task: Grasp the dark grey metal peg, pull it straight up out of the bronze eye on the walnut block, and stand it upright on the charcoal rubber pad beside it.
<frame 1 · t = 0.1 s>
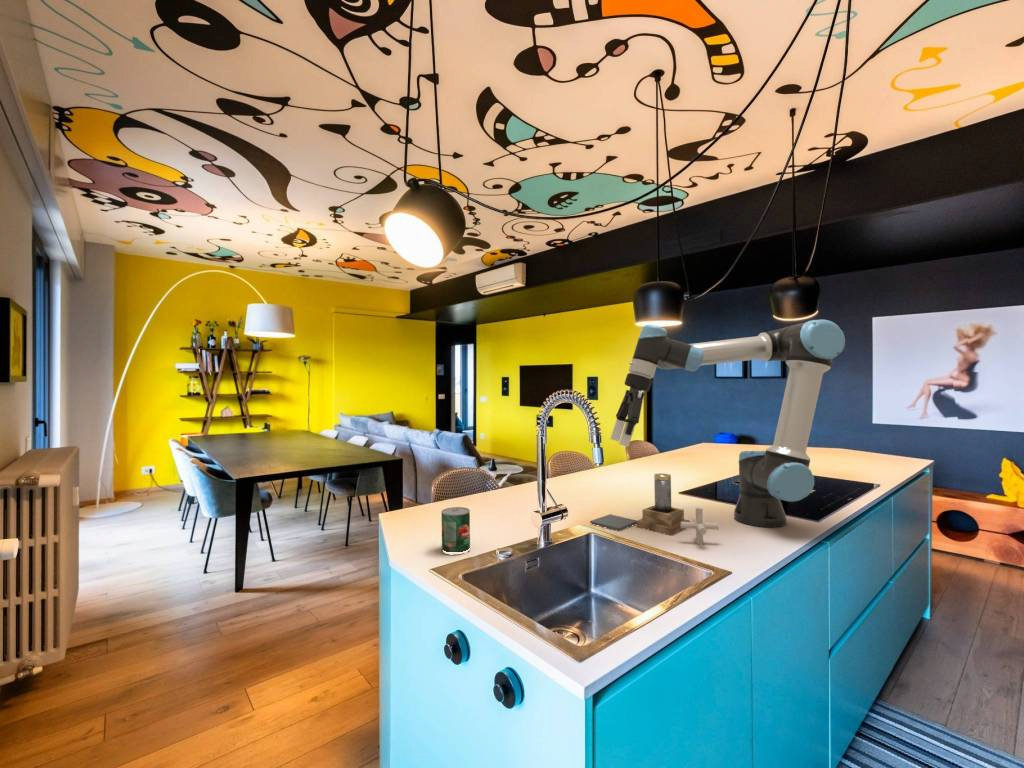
hand: (618, 442, 140), 28 cm above the table, tool tilted 20°, fingers open, 13 cm apart
peg: (663, 520, 147), point 2 cm above the table, touching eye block
pad: (614, 523, 151), on the table
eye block: (663, 526, 147), on the table
pipe connector: (699, 544, 132), on the table
canned tomato: (456, 551, 129), on the table
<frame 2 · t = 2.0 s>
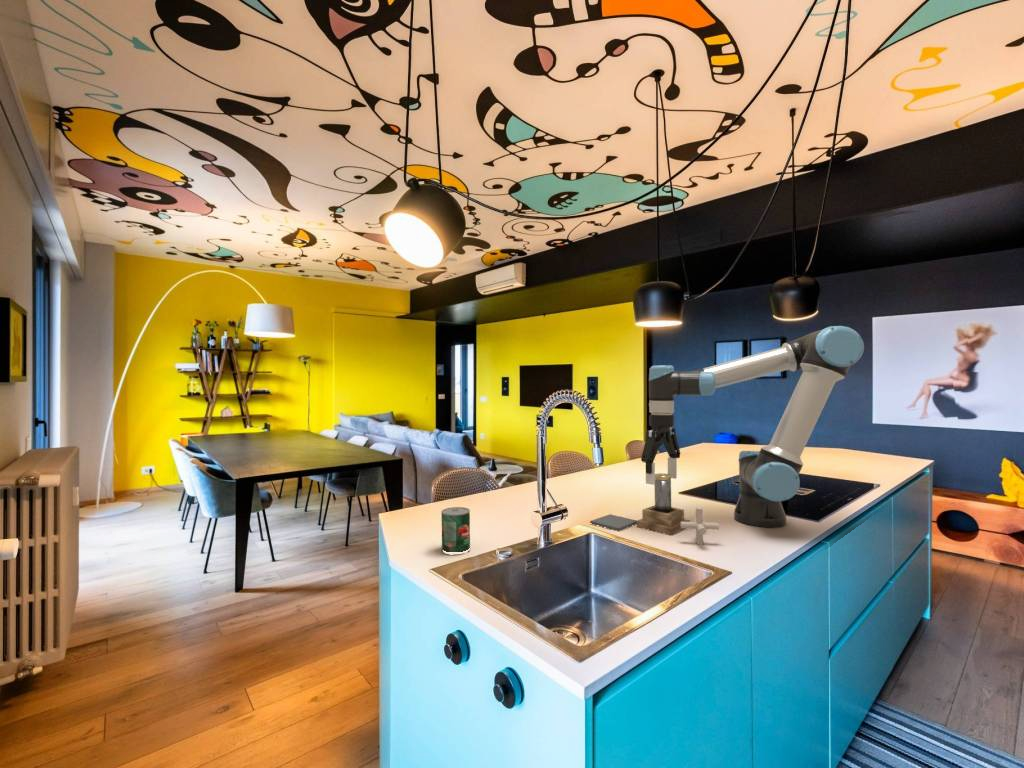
hand: (661, 480, 148), 15 cm above the table, tool pointing down, fingers open, 13 cm apart
nothing on the table moved.
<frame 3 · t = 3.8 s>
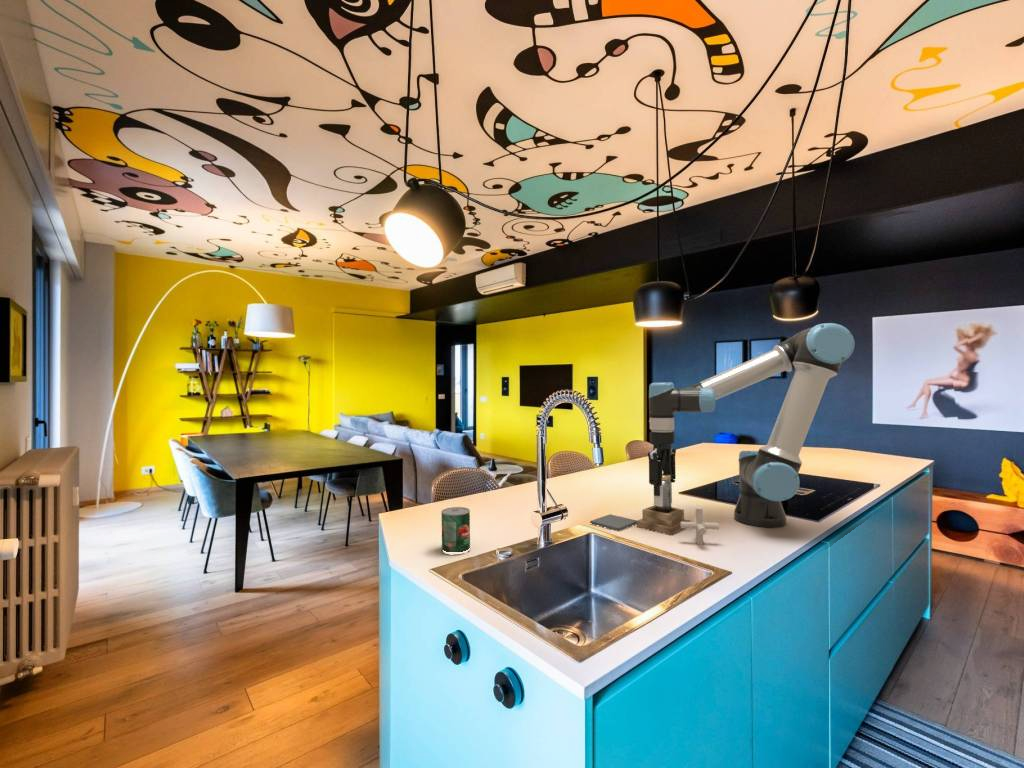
hand: (663, 504, 147), 7 cm above the table, tool pointing down, fingers closed on peg, 5 cm apart
peg: (663, 520, 147), point 2 cm above the table, touching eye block, gripper
everything else where it was.
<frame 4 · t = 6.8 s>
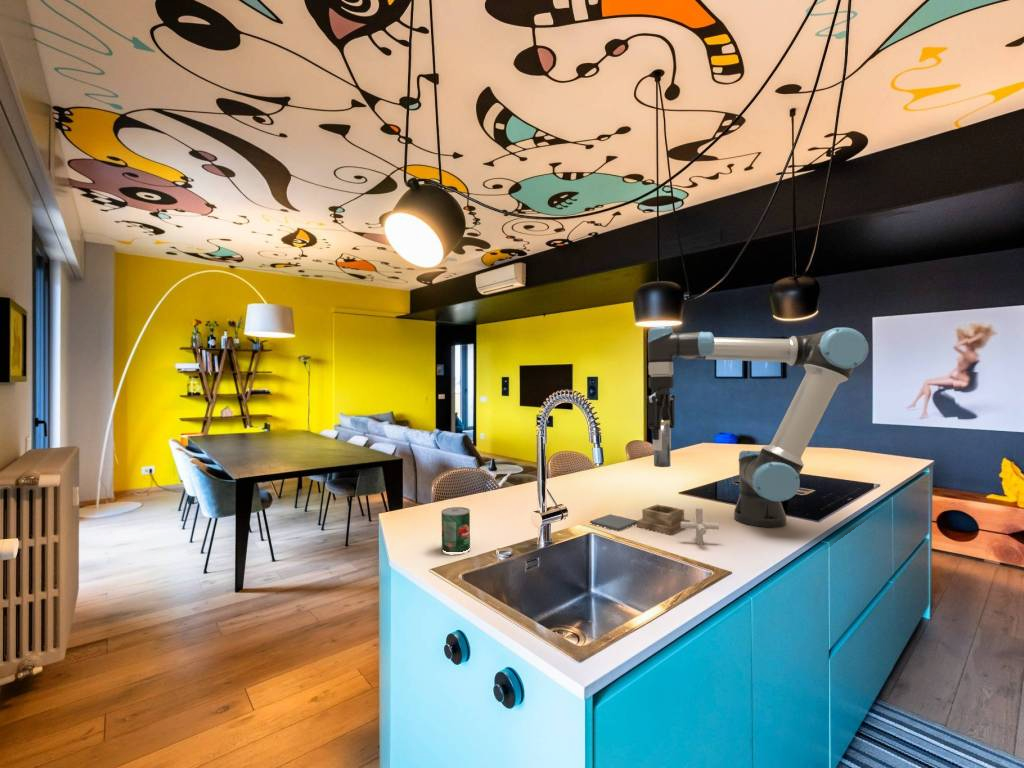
hand: (662, 449, 148), 25 cm above the table, tool pointing down, fingers closed on peg, 5 cm apart
peg: (662, 465, 148), point 19 cm above the table, touching gripper
everything else where it was.
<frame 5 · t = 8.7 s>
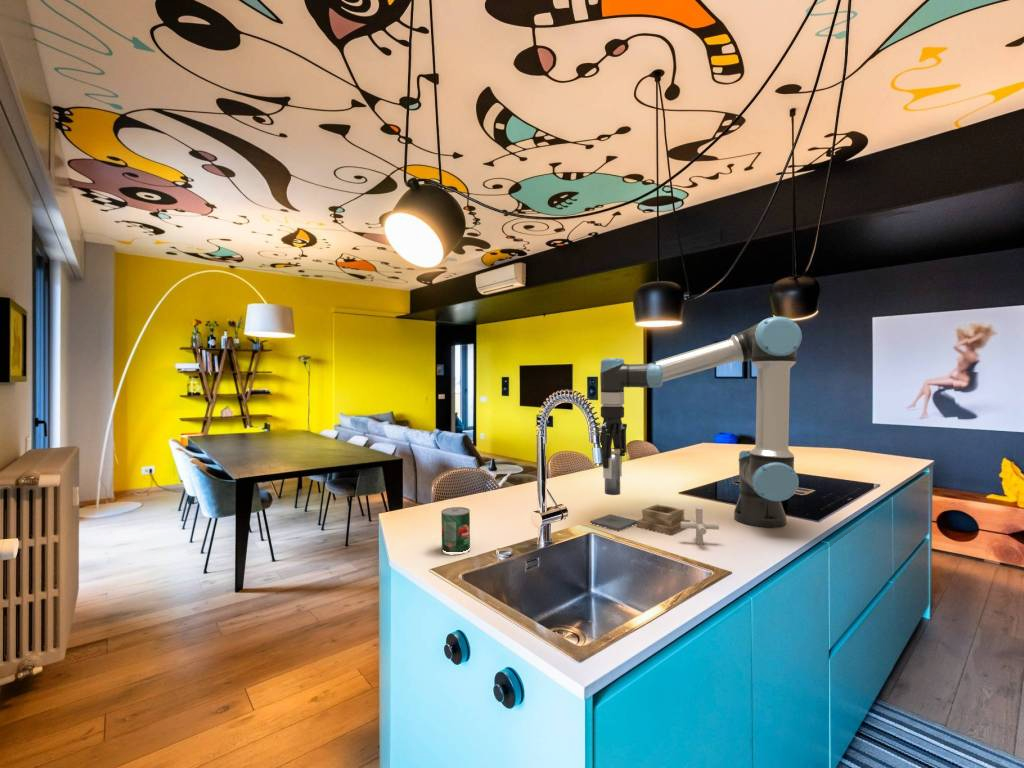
hand: (612, 476, 152), 15 cm above the table, tool pointing down, fingers closed on peg, 5 cm apart
peg: (612, 493, 152), point 10 cm above the table, touching gripper
everything else where it was.
when the fingers open (7 cm above the table, at t = 10.1 s): peg stays where it is, resting on pad.
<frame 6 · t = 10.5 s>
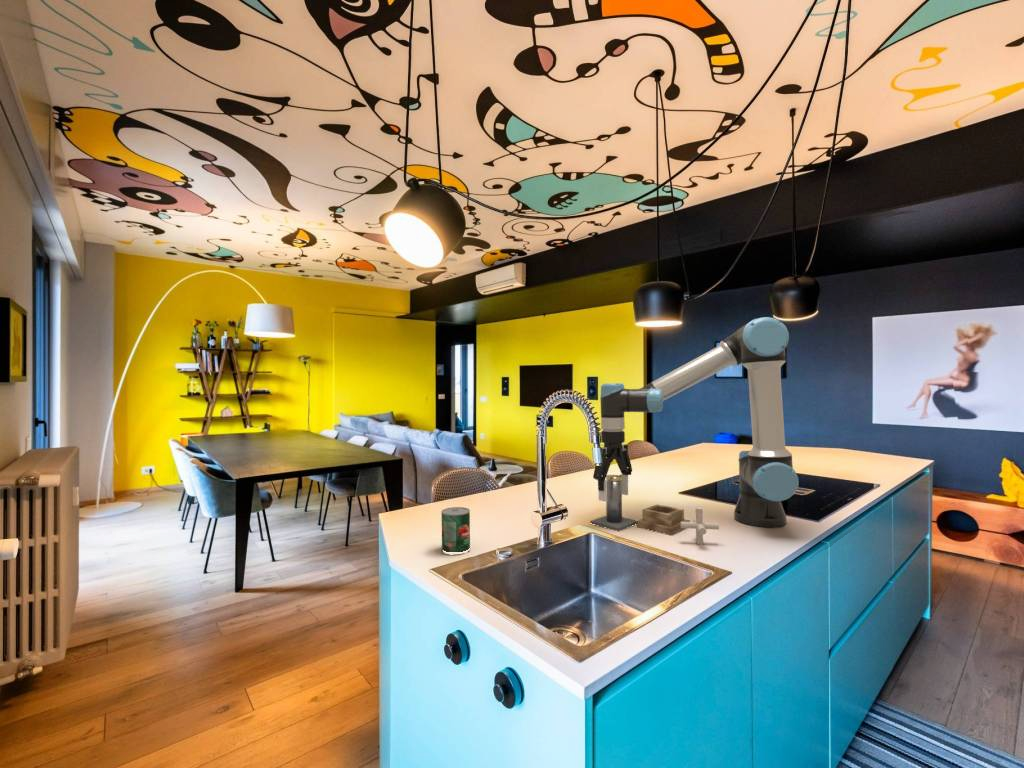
hand: (613, 497, 151), 9 cm above the table, tool pointing down, fingers open, 11 cm apart
peg: (614, 520, 151), point 1 cm above the table, touching pad
everything else where it was.
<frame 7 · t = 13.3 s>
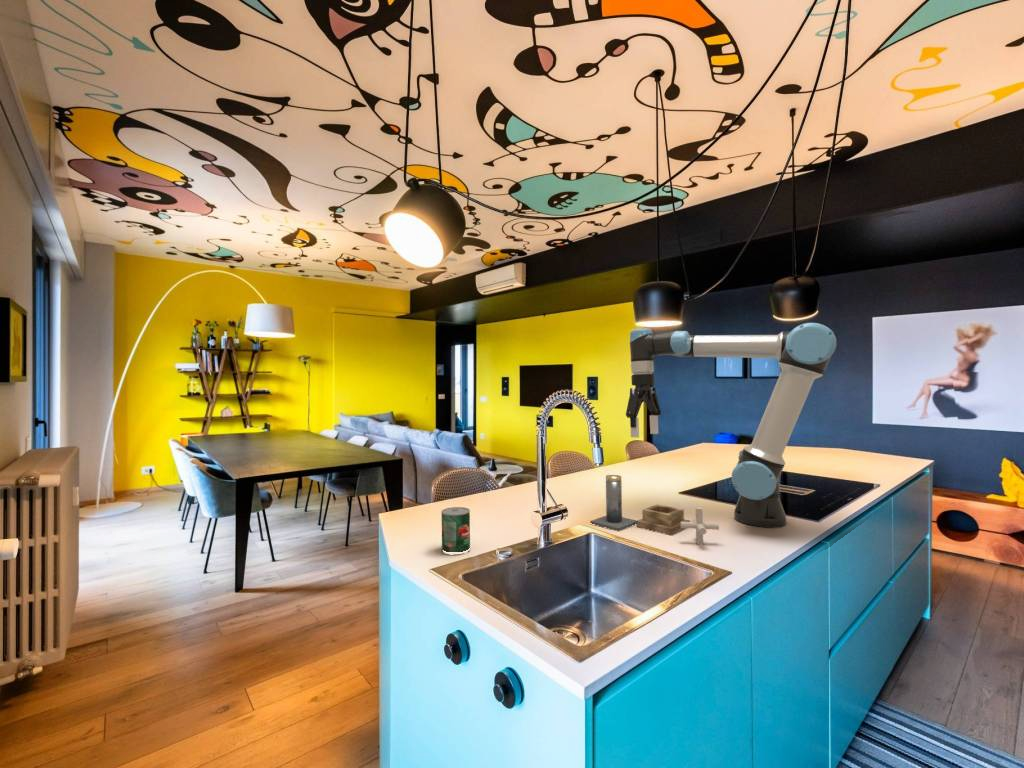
hand: (645, 435, 160), 28 cm above the table, tool pointing down, fingers open, 13 cm apart
nothing on the table moved.
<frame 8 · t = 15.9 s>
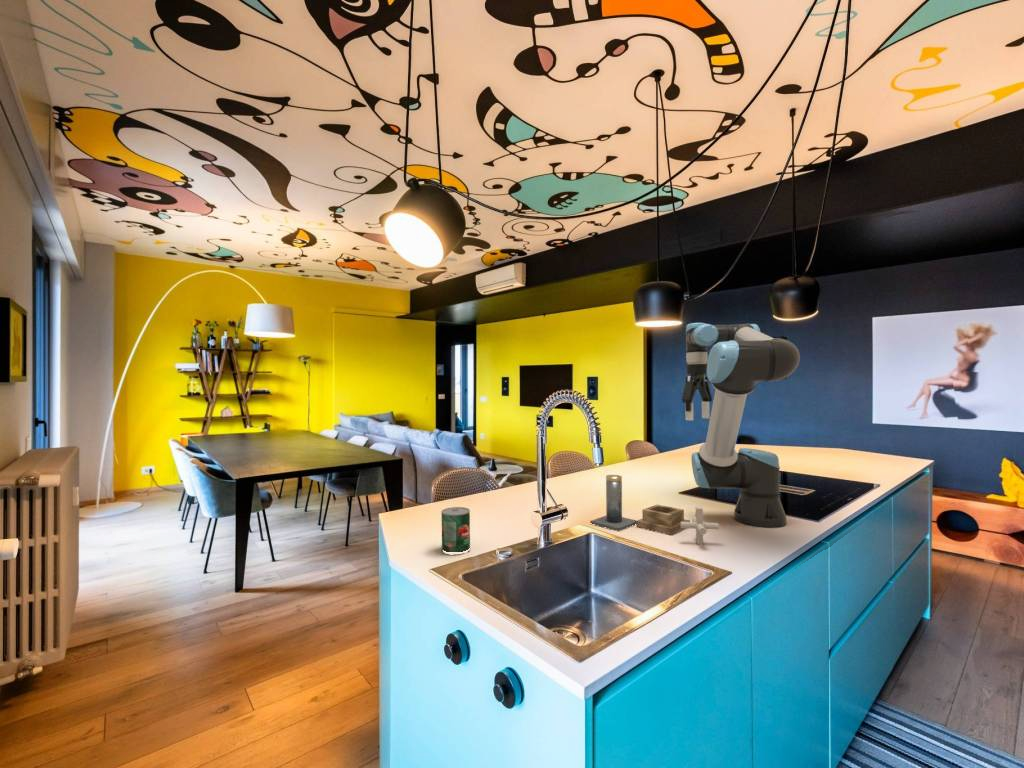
hand: (697, 419, 178), 32 cm above the table, tool pointing down, fingers open, 13 cm apart
nothing on the table moved.
at the end: peg inside the target area on the pad (0.1 cm from its centre), point 1.0 cm above the pad's base; peg tilted 1°; the gripper is holding nothing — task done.
